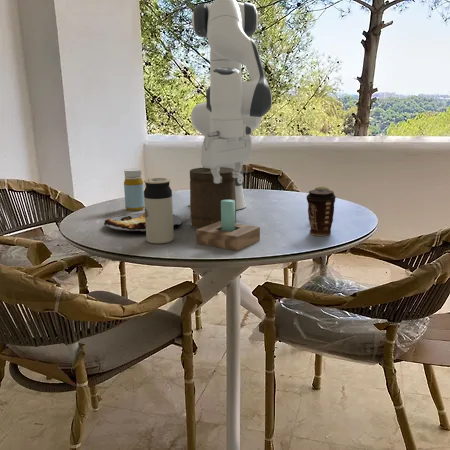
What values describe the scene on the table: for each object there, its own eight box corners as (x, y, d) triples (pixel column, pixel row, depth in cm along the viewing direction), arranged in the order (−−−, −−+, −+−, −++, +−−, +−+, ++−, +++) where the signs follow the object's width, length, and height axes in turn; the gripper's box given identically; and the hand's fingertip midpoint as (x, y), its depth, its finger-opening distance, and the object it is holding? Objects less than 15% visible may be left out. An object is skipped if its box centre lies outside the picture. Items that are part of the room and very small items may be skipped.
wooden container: (216, 217, 170) (215, 154, 165) (245, 225, 159) (245, 157, 154) (181, 224, 161) (179, 157, 155) (210, 233, 150) (208, 161, 144)
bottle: (146, 207, 188) (143, 168, 184) (142, 211, 181) (140, 171, 177) (128, 207, 188) (125, 168, 184) (123, 211, 181) (121, 171, 177)
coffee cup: (316, 228, 154) (318, 187, 151) (339, 232, 148) (341, 190, 145) (300, 233, 148) (301, 191, 145) (324, 238, 142) (325, 195, 139)
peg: (218, 241, 141) (217, 201, 138) (229, 239, 143) (228, 199, 140) (227, 244, 138) (226, 203, 135) (238, 241, 140) (237, 201, 137)
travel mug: (174, 236, 147) (172, 177, 143) (172, 244, 139) (170, 181, 135) (148, 236, 147) (145, 177, 142) (144, 244, 139) (141, 182, 135)
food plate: (133, 240, 143) (133, 228, 142) (90, 228, 159) (89, 217, 158) (195, 226, 161) (195, 215, 160) (150, 216, 177) (150, 206, 176)
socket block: (196, 243, 140) (195, 229, 139) (219, 233, 149) (219, 221, 148) (237, 251, 132) (237, 236, 131) (259, 240, 142) (259, 227, 141)
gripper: (214, 133, 123) (215, 187, 126) (255, 127, 139) (255, 175, 143) (194, 132, 126) (196, 185, 130) (236, 127, 142) (237, 174, 146)
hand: (227, 180), depth 136 cm, fingers open, 8 cm apart
